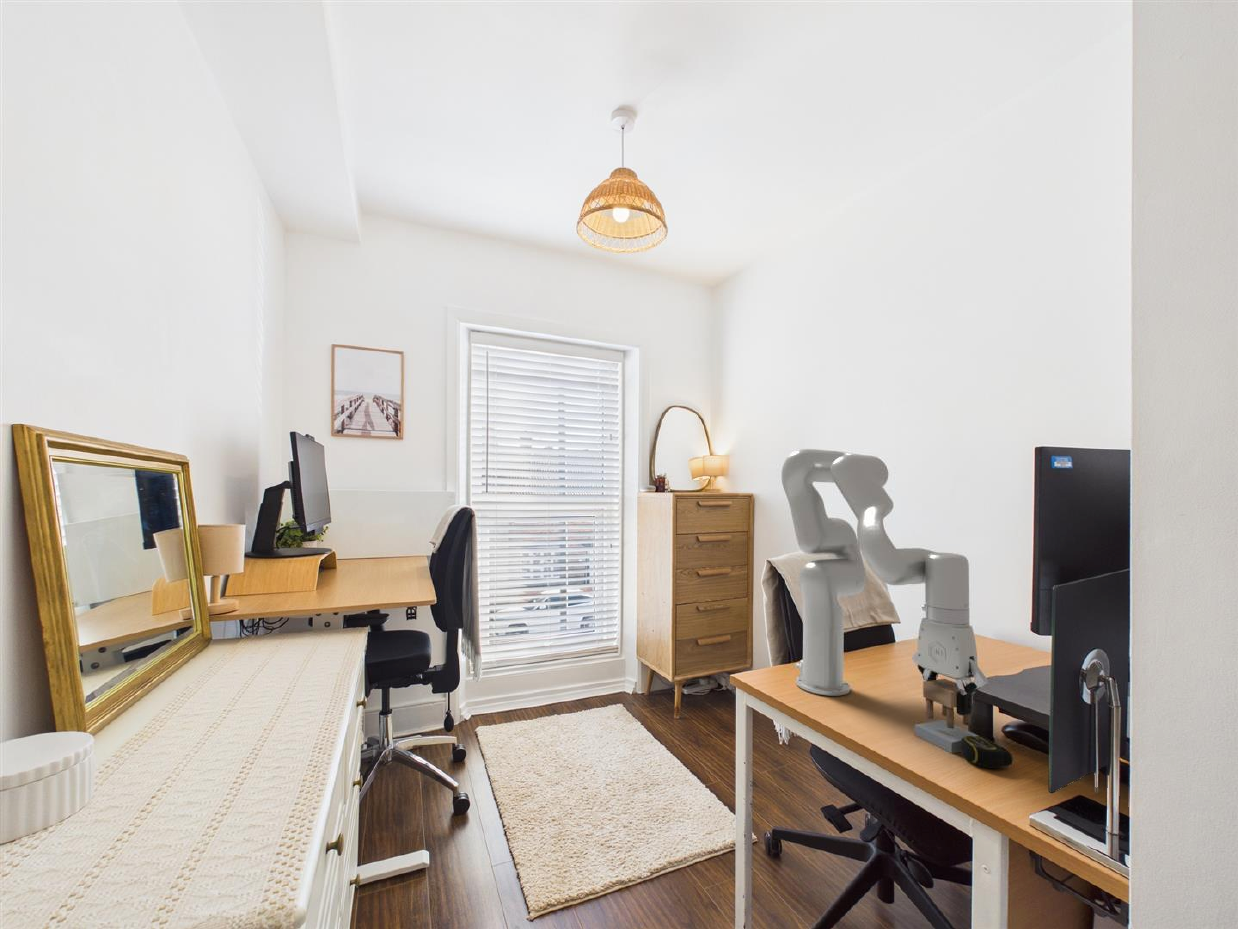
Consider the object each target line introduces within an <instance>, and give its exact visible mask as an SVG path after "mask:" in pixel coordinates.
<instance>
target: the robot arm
mask: <svg viewBox="0 0 1238 929" xmlns="http://www.w3.org/2000/svg"><path fill="white" fill-rule="evenodd" d="M888 479H889V469H888V467H887V465H886V463H885V462H884V461H883V460H882V459H880V458H879V457H877V456H874V455H865V454H858V453H851V452H844V451H839V450H826V449H816V448H814V449H813V448H807V449H805V448H804V449H799V450H798V449H797V450H796V451H793V452H791V453H790V454H789V455H788V456H787V458H786V459H785V460H784V462H783V465H782V469H781V483H782V487H783V491H784V493H785V495H786V499H787V501H788V505H789V508H790V514H791V519H792V523H793V527H794V528H793V529H794V533H795V536H796V541H797V545H798V547H799V549H800V550H801V552H803V553H805V554H807V555H811V556H813V555H815V556H818V555H820V556H821V555H828V559H826V558H824V559H823V558H822V559H814V560H811V561H809V562H806V564H804V565H803V566H802V568H801V569H800V573H799V578H798V579H799V586H800V591H801V596H802V612H803V613H802V614H803V615H802V635H803V636H802V659H801V660H799V662H796V663H795V668H796V669H798V670H800V675H797V677H796V679H795V682H796V685H797V687H799V688H800V689H802V690H804V691H806V692H809V693H813V694H816V695H821V696H830V697H831V696H832V697H839V696H840V697H841V696H844V695H847V694H849V693H850V692H851V686H850V683H848V682H847V681H845V680H844V644H845V643H844V639H845V638H844V636H845V635H844V633H845V632H844V631H845V628H844V627H845V626H844V625H845V624H844V622H845V621H844V613H843V609H842V607H841V605H840V603H839V600H838V598H840V597H842V598H843V597H850V596H851V597H852V596H856V595H858V594H860V593H861V592H863V590H864V588H865V586H866V583H867V574H866V569H865V565H864V560H863V558H864V559H865V561H866V563H867V564H868V566H869V567H870V569H871V571H872V572H873V573H874V574H875V575H876V577H877V578H878V579H879V580H881V581H882V582H883V583H885V584H887V585H889V586H904V585H920V584H925V587H924V588H925V590H924V592H925V593H924V594H925V596H924V597H925V599H924V600H925V604H922V606H921V609H922V611H924V612H925V617H922V618H921V620H920V621H921V622H920V625H919V631H918V636H917V637H918V638H917V648H916V649H917V652H915V654H913V655H912V657H911V659H912V660H913V661H914V663H915V665H916V666H917V669H918V670H919V673H921V675H922V680H923V681H931V680H938V676H939V675H941V676H945V677H947V678H949V679H953V680H955V683H957V686H958V689H959V692H960V693H957V707H955V708H956V710H955V711H956V714H957V715H959V716H963V715H966V714H970V715H971V713H972V709H973V705H972V694H973V695H974V694H975V693H976V691H978V690H979V689H981V687H983V686H985V685H987V684H988V683H989V680H988V678H987V677H986V675H985V674H984V672H983V671H982V670H981V668H980V667H979V665H978V663H979V662H978V650H977V644H976V643H977V642H976V637H975V634H974V632H975V631H974V628H973V626H972V625H970V571H969V570H970V564H969V560H968V558H967V557H966V556H964V555H962V554H958V553H953V552H952V553H951V552H950V553H949V552H936V551H932V550H930V549H925V548H921V547H920V548H919V547H917V548H916V547H915V548H908V547H907V548H905V547H904V548H896V547H895V545H894V544H893V542H892V541H891V539H890V537H889V535H888V534H887V532H886V530H885V527H884V519H885V518H886V517H887V516H888V515H890V513H891V512H892V511H893V509H894V501H893V500H892V498H891V497H890V496H889V494H888V493H887V491H886V490H885V488H884V487H885V485H886V484H887V482H888ZM814 482H815V483H831V484H833V483H834V484H835V485H836V487H837V489H838V490H839V492H840V493H841V495H842V497H843V498H844V499H845V501H846V504H848V506H849V508H850V509H851V511H852V512H853V515H855V518H856V519H857V526H856V532H855V530H854V528H853V526H852V525H851V524H850V523H849V522H848V521H846V520H845V519H842V518H839V517H828V515H827V511H826V508H825V503H824V500H823V498H822V496H821V494H820V492H819V491H818V490H817V489H816V487H815V486H814V485H813V483H814ZM856 533H857V534H856ZM862 556H863V557H862ZM972 678H974V679H973V680H972Z"/></svg>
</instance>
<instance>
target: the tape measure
mask: <svg viewBox="0 0 1238 929" xmlns="http://www.w3.org/2000/svg"><path fill="white" fill-rule="evenodd" d="M960 751H961V752H960V753H961V755H962V757H963V758H965V760H967V761H969V762H971V763H973V764H975V765H977V766H979V767H984V768H988V769H1000V768H1004V767H1008V766H1011V765H1012V764H1013V760H1014V758H1013V754H1012V753H1011V752H1010V751H1009V750H1007V749H1006V748H1004V747H1002V746H1001V745H999V744H998V743H996V742H994V741H993V740H990V739H988V738H987V737H985V736H982V735H978V736H977V737H976V736H965V737H963V738H962V740H961V744H960Z"/></svg>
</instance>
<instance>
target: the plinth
mask: <svg viewBox="0 0 1238 929" xmlns="http://www.w3.org/2000/svg"><path fill="white" fill-rule="evenodd" d="M914 736H916V737H919V738H921V739H922V740H923V741H924V740H925V741H926V742H928V743H930V744H932V745H933V746H937V748H940V749H941V750H944V751H946V752H948V753H950V754H954V753H961V751H960V744H961V740H962V738H963V737H965V736H976V737H977V736H979V735H978V734H976V733H974V732H971V731H970V730H967V729H965V728H963V727H960V726H958V725H956V724H954V728H953V729H951V728H948V727H947V720H944V719H940V720H939V719H938V720H935V721H929V722H924V723H923V722H922V723H917V724H914Z"/></svg>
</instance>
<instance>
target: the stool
mask: <svg viewBox="0 0 1238 929" xmlns="http://www.w3.org/2000/svg"><path fill="white" fill-rule="evenodd" d="M922 685H923V687H922V688H923V689H922V693H923V694H922V696H923V698H925V701H926V702H925V703H926V704H925V706H926V711H925V712H926V717H925V718H926V719H928V720H934V702H935V703H938V704H939V705H940V704H941V710H942V712H941V713H942V716H944V717H946V721H947V727H948V728H951V729H953V728H954V725H955V709H954V708H956V707H957V693H960V692H959V689H958V686H957V683H956V681H952V680H950V679H947V678H940V679H936V680H931V681H925V680H923V683H922ZM973 705H974V693H973V694H972V706H973ZM962 724H963V725H964V726H967V727H968V726H969V727H970V726H971V713H970V714H966V715H962Z"/></svg>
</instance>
